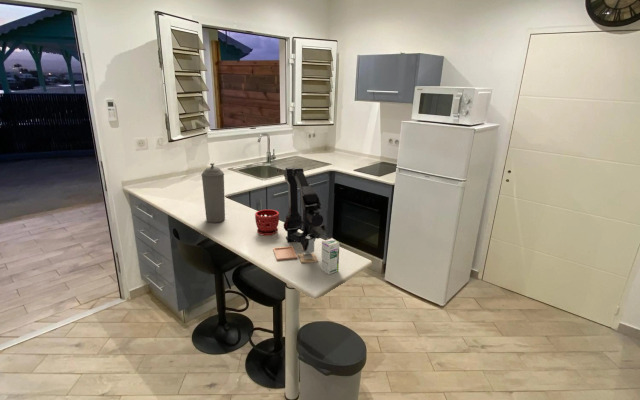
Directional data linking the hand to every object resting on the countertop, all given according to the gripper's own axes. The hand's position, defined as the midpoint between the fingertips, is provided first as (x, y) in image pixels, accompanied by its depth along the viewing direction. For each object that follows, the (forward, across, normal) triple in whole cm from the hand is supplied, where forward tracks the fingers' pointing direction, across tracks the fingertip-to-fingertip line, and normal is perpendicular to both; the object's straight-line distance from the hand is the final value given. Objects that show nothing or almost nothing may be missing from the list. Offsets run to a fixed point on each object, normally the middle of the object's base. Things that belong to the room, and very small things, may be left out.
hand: (308, 249), depth 168 cm
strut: (+1, 0, 0) cm, 1 cm away
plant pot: (+5, +8, +37) cm, 38 cm away
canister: (+5, -1, +74) cm, 74 cm away
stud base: (+5, 0, 0) cm, 5 cm away
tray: (+5, -4, +12) cm, 13 cm away
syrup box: (+5, -2, -15) cm, 16 cm away
